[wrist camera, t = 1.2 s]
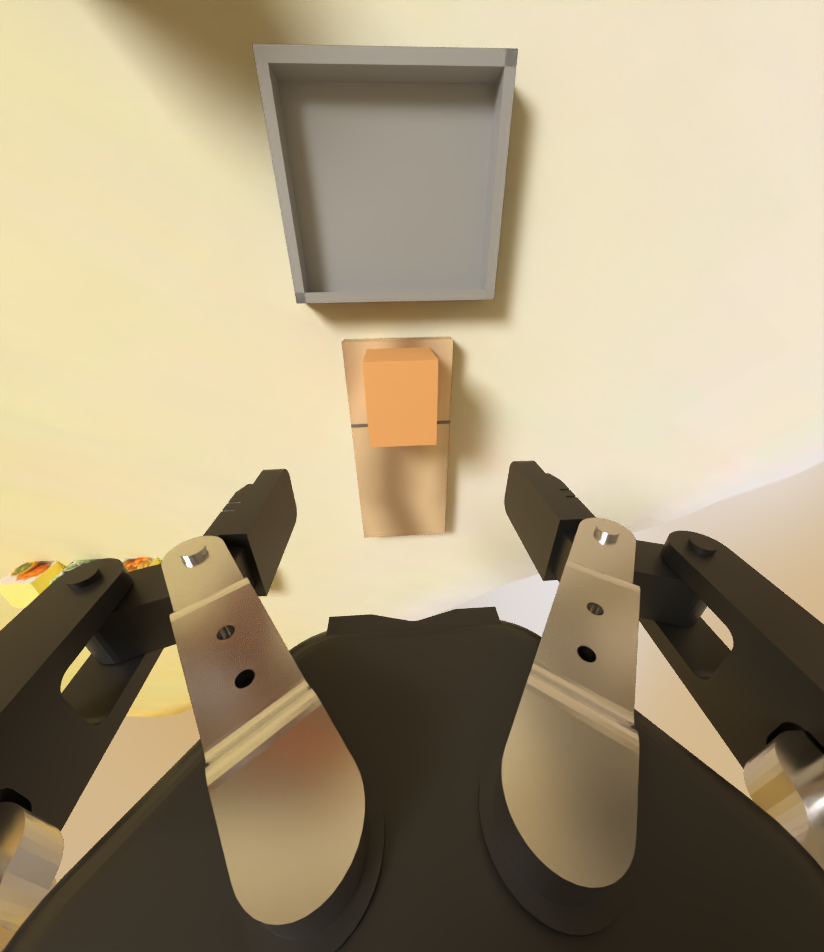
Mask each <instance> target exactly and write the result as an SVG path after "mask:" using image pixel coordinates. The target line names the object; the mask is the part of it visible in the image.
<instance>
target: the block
mask: <svg viewBox="0 0 824 952" xmlns="http://www.w3.org/2000/svg"><path fill="white" fill-rule="evenodd" d="M362 365H363V376H364V387H365V398H366V410H367V421H368V432H369V443H370V447H394V446H417V445H436V440H437V398H438V359H437V357H436V356H435V355H434V353H433V352H432V351H431V349H430V348H429V347H420V348H384V349H367V350H366V353H365V356H364V359H363V362H362Z"/></svg>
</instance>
